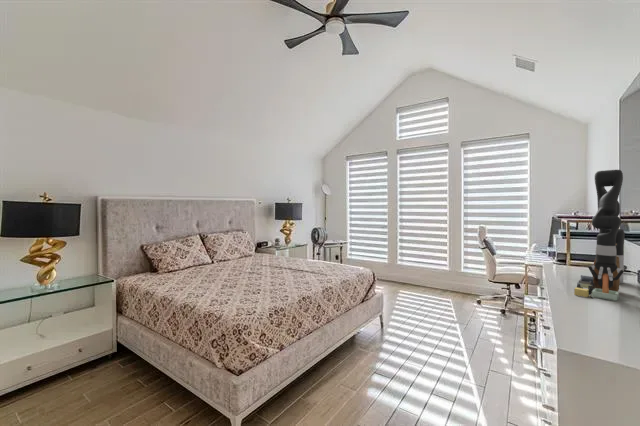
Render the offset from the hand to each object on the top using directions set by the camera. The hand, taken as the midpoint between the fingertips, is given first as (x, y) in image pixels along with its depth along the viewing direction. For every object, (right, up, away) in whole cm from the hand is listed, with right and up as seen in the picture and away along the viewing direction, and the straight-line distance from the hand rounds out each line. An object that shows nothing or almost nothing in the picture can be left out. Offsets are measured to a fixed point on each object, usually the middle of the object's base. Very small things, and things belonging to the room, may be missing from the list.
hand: (605, 286), depth 147 cm
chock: (-9, -6, +4) cm, 11 cm away
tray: (0, -6, 0) cm, 6 cm away
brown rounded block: (+12, -5, +12) cm, 17 cm away
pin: (0, -4, 0) cm, 4 cm away
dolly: (0, -5, +11) cm, 12 cm away
